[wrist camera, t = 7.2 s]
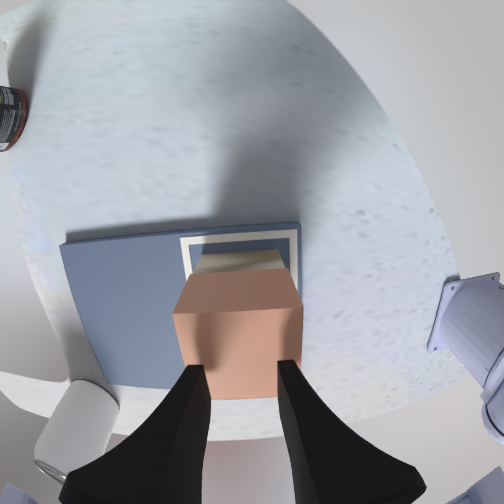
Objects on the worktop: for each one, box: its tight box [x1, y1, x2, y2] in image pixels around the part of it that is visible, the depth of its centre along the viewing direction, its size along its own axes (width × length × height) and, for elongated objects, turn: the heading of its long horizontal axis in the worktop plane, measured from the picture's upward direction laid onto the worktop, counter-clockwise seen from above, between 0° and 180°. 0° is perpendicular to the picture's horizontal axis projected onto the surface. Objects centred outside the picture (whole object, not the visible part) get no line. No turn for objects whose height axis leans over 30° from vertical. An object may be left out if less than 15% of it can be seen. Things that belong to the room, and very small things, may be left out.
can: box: [33, 380, 119, 485], centre depth 18 cm, size 6×6×12 cm
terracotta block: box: [172, 268, 304, 400], centre depth 13 cm, size 5×5×4 cm
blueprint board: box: [59, 222, 301, 389], centre depth 20 cm, size 18×14×1 cm
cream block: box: [193, 249, 285, 274], centre depth 17 cm, size 5×5×4 cm
